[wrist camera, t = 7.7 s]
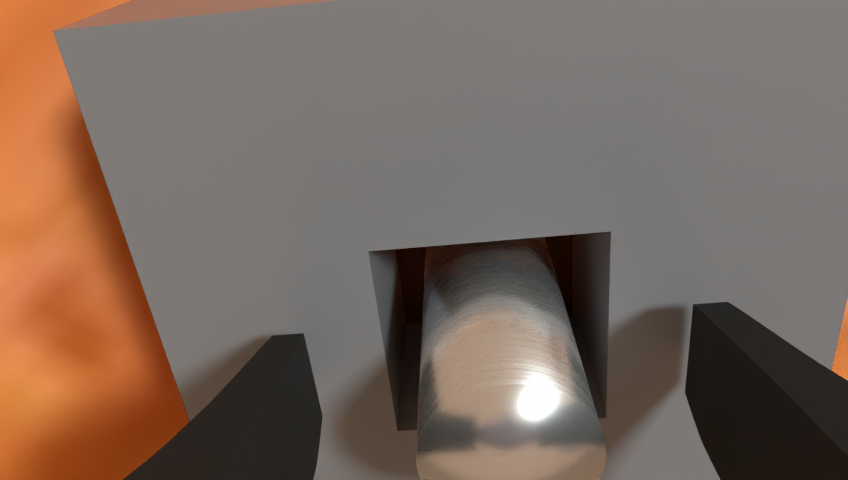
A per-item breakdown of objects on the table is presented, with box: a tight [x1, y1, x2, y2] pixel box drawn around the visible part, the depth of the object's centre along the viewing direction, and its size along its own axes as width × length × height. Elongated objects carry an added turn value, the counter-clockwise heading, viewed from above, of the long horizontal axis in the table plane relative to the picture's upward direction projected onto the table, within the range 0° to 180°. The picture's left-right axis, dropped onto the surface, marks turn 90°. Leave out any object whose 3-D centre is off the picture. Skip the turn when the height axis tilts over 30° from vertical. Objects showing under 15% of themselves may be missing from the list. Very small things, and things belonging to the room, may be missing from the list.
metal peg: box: [416, 237, 606, 480], centre depth 14 cm, size 3×3×7 cm
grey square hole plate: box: [53, 0, 848, 480], centre depth 15 cm, size 13×13×4 cm
